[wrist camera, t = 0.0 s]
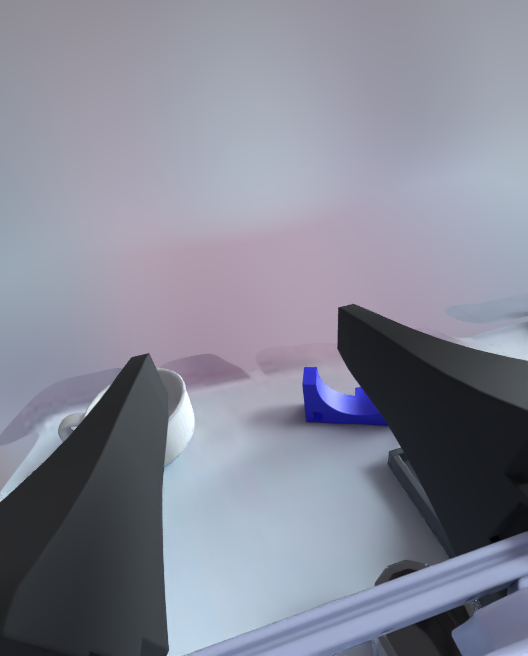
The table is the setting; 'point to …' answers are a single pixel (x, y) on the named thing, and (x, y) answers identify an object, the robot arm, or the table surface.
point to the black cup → (421, 625)
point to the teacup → (177, 423)
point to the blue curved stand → (336, 403)
